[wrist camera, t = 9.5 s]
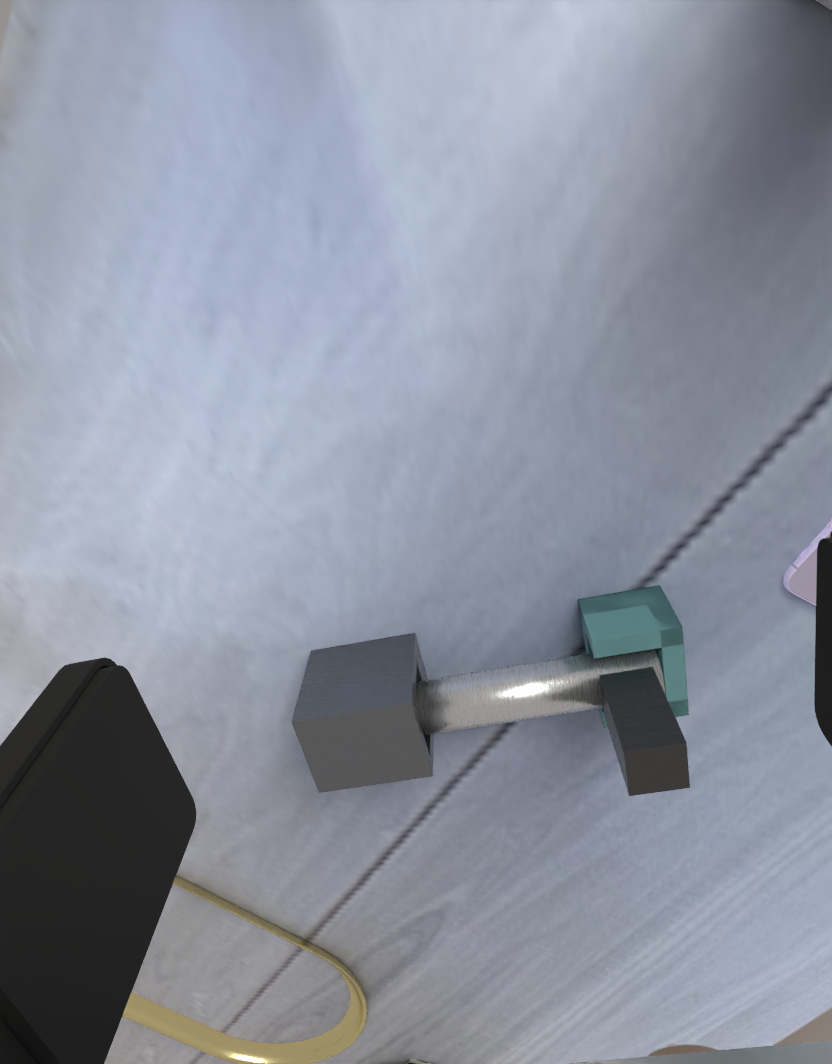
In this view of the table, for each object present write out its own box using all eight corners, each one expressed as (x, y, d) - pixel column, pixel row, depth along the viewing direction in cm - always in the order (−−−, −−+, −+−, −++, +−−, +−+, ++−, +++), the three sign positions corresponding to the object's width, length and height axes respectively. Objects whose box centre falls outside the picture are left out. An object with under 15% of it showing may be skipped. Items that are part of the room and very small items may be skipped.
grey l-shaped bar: (647, 633, 42) (696, 739, 34) (652, 675, 44) (700, 787, 36) (356, 681, 44) (337, 791, 36) (369, 720, 46) (354, 835, 38)
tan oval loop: (46, 797, 54) (35, 813, 52) (411, 982, 63) (410, 1000, 61) (-46, 920, 61) (-58, 938, 59) (294, 1071, 69) (291, 1090, 68)
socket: (659, 585, 43) (682, 626, 39) (667, 668, 46) (688, 714, 42) (578, 599, 44) (591, 641, 40) (589, 680, 47) (604, 727, 43)
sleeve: (415, 633, 46) (411, 702, 40) (433, 700, 48) (432, 776, 42) (311, 651, 46) (291, 721, 40) (334, 716, 49) (319, 792, 43)
